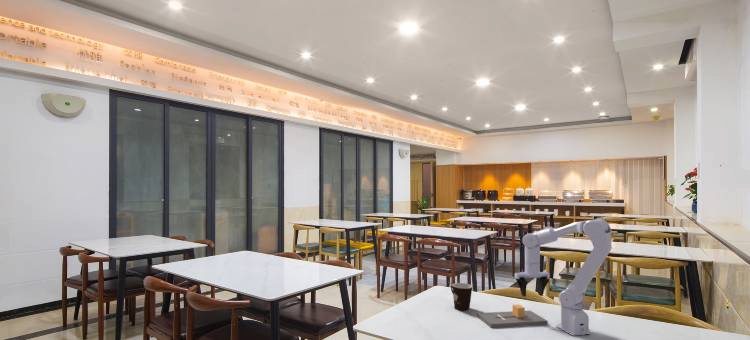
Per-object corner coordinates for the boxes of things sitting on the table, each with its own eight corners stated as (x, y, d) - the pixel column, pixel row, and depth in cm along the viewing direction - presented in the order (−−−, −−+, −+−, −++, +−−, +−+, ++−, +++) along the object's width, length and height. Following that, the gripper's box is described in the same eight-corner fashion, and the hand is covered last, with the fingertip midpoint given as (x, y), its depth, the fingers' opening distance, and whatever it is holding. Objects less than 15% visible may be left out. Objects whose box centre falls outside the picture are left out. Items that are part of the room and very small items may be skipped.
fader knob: (524, 317, 155) (524, 307, 155) (517, 317, 155) (517, 308, 155) (519, 313, 159) (519, 304, 159) (512, 314, 159) (512, 304, 159)
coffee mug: (474, 312, 166) (474, 288, 166) (453, 311, 166) (454, 288, 166) (468, 303, 177) (468, 281, 178) (449, 302, 178) (449, 281, 178)
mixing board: (547, 324, 153) (547, 320, 153) (491, 327, 148) (491, 323, 149) (530, 314, 165) (530, 310, 165) (477, 316, 160) (477, 312, 160)
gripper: (542, 260, 165) (542, 292, 165) (510, 260, 162) (510, 293, 162) (552, 263, 158) (552, 297, 158) (519, 264, 156) (519, 298, 155)
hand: (532, 295), depth 159 cm, fingers open, 7 cm apart
